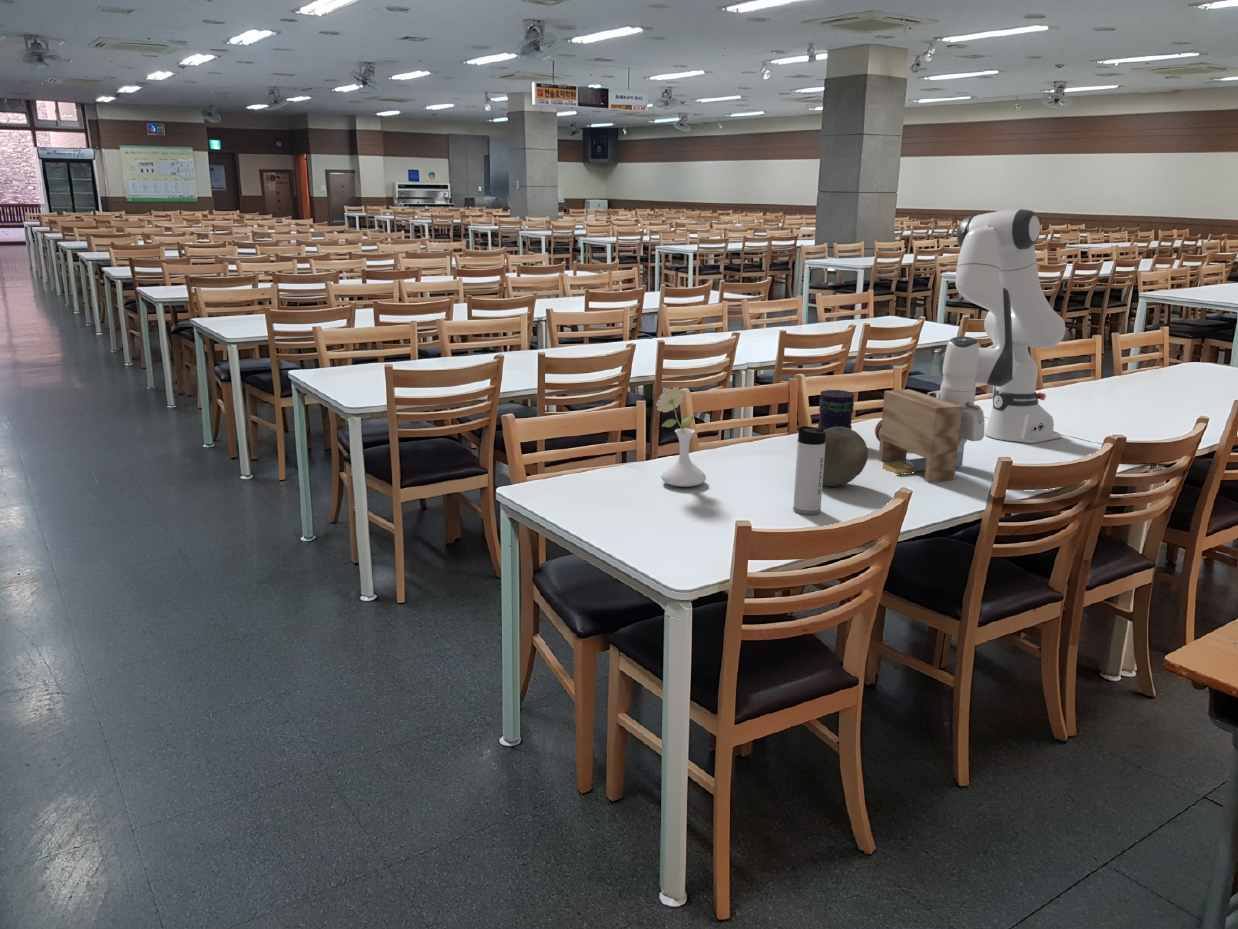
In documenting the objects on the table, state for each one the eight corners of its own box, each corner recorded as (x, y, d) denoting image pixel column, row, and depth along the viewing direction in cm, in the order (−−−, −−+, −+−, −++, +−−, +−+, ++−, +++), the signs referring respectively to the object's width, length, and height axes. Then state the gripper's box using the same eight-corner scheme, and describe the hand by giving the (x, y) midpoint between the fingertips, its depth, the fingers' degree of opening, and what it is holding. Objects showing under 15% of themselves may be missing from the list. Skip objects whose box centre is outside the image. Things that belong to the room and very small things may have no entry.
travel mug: (788, 506, 218) (793, 424, 212) (816, 506, 218) (821, 423, 212) (795, 515, 212) (801, 430, 206) (823, 515, 212) (830, 430, 206)
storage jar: (848, 448, 268) (853, 397, 264) (814, 445, 271) (818, 395, 267) (852, 440, 277) (856, 391, 273) (818, 437, 280) (822, 388, 276)
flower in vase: (698, 476, 241) (701, 381, 234) (711, 489, 230) (715, 390, 223) (649, 478, 238) (651, 383, 231) (660, 492, 227) (663, 392, 220)
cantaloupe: (818, 495, 226) (823, 435, 222) (799, 478, 239) (802, 422, 235) (873, 493, 228) (878, 434, 224) (850, 476, 241) (855, 420, 237)
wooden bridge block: (903, 457, 259) (910, 389, 254) (955, 479, 239) (963, 406, 234) (878, 460, 257) (884, 390, 251) (927, 482, 237) (935, 408, 231)
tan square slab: (901, 468, 250) (902, 461, 250) (915, 474, 245) (915, 467, 244) (882, 470, 248) (883, 463, 248) (895, 476, 243) (896, 469, 242)
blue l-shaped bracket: (952, 461, 254) (955, 426, 251) (962, 465, 250) (965, 429, 247) (904, 468, 249) (906, 432, 246) (913, 472, 245) (916, 435, 242)
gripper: (993, 406, 238) (987, 458, 241) (942, 390, 256) (937, 439, 260) (973, 408, 236) (967, 460, 239) (923, 392, 254) (918, 440, 258)
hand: (951, 449), depth 250 cm, fingers closed on blue l-shaped bracket, 4 cm apart
